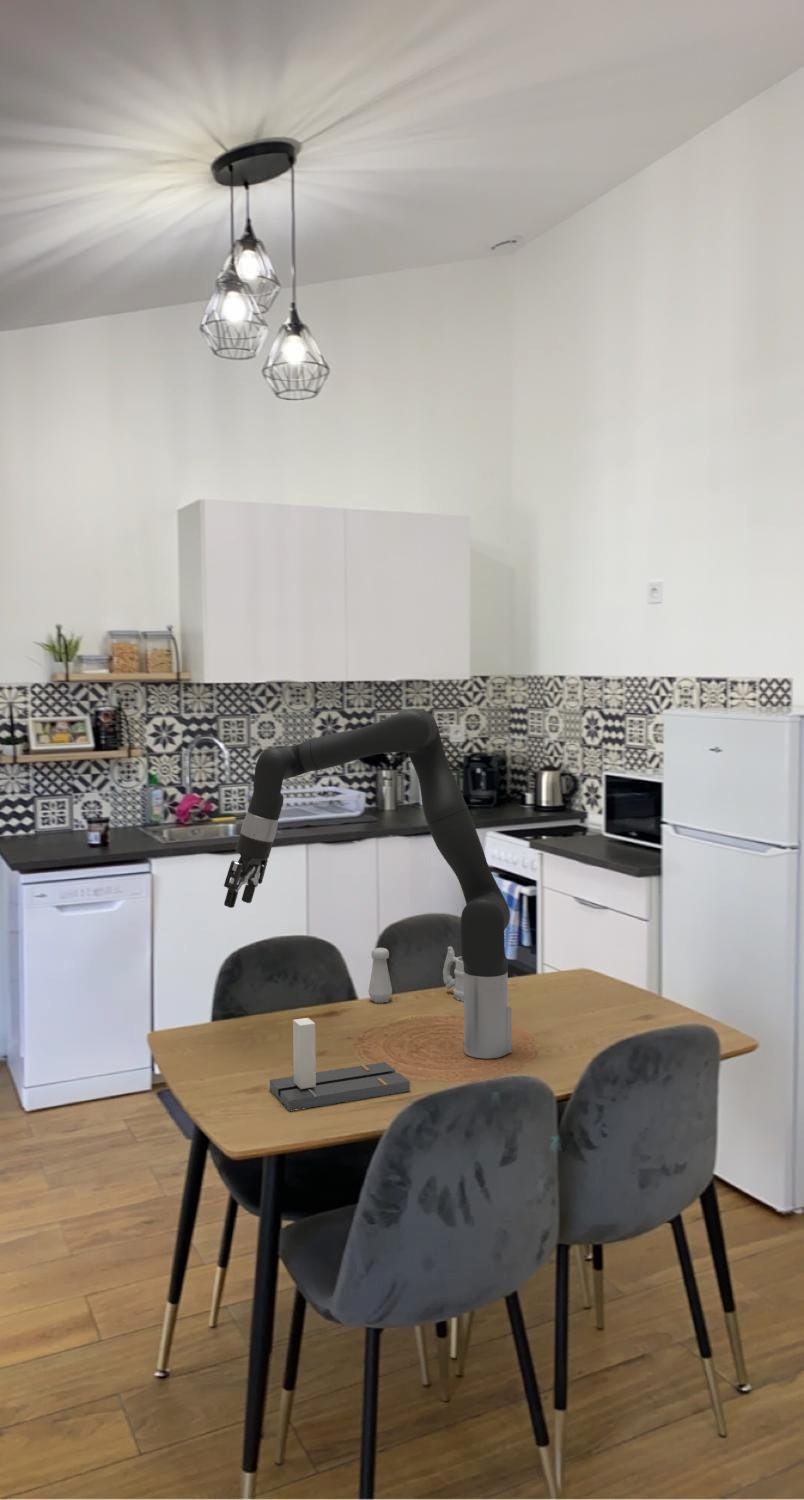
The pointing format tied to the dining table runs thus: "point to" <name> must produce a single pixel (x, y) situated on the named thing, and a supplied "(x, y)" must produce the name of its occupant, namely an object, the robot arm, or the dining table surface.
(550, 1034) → the dining table surface
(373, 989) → the salt shaker
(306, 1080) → the slider handle
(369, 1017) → the dining table surface
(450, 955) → the mug
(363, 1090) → the mixer console
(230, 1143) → the dining table surface
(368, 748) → the robot arm
